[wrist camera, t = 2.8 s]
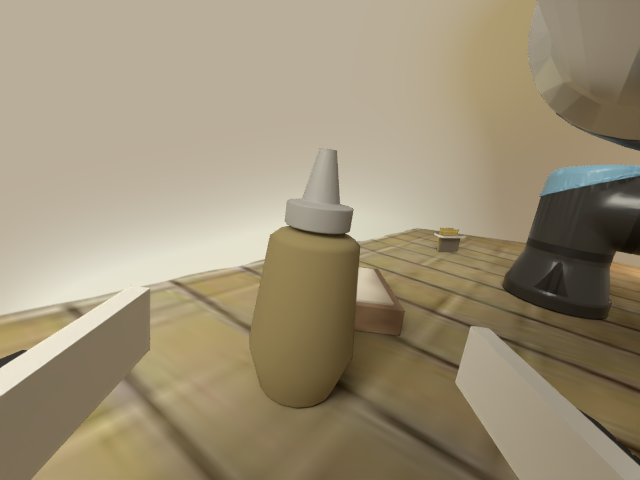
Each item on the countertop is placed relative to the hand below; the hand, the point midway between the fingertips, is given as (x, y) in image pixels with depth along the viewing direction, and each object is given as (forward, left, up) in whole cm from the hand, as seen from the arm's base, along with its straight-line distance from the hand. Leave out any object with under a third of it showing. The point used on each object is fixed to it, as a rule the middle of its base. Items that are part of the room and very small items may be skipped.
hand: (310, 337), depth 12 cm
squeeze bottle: (0, -10, -10) cm, 14 cm away
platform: (-38, -67, -11) cm, 78 cm away
